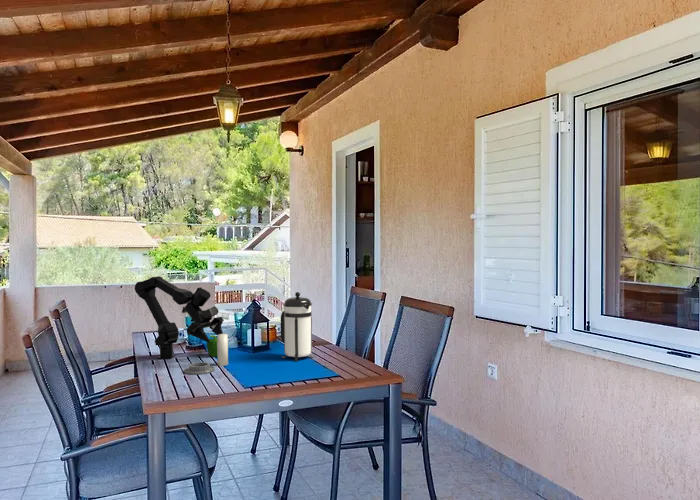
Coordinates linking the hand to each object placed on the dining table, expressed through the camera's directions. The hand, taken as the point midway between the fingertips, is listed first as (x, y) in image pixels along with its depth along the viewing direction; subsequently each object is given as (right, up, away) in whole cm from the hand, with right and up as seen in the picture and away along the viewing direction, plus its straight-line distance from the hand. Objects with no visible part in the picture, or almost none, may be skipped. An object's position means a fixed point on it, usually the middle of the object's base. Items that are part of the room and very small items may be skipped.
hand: (216, 340), depth 231 cm
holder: (-4, -11, -12) cm, 17 cm away
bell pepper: (-4, -10, +16) cm, 19 cm away
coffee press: (+34, -10, +11) cm, 37 cm away
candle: (+3, -10, -1) cm, 11 cm away
